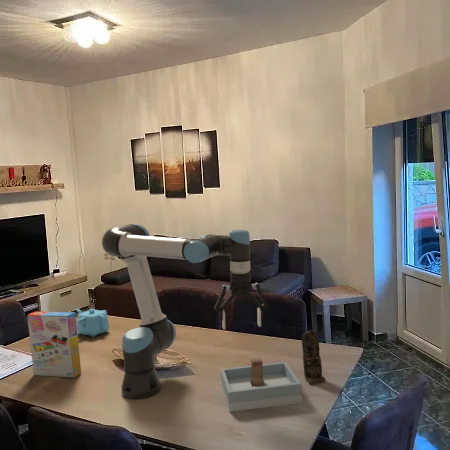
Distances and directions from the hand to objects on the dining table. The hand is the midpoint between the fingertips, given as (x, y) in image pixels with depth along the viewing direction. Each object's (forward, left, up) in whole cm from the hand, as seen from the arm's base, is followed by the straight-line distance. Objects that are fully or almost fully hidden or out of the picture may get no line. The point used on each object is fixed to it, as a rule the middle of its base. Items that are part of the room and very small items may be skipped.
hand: (241, 326), depth 172 cm
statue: (+27, 0, -25) cm, 37 cm away
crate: (+4, -6, -24) cm, 25 cm away
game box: (-77, +34, -25) cm, 87 cm away
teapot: (-70, +87, -25) cm, 114 cm away
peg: (+4, -3, -24) cm, 25 cm away
